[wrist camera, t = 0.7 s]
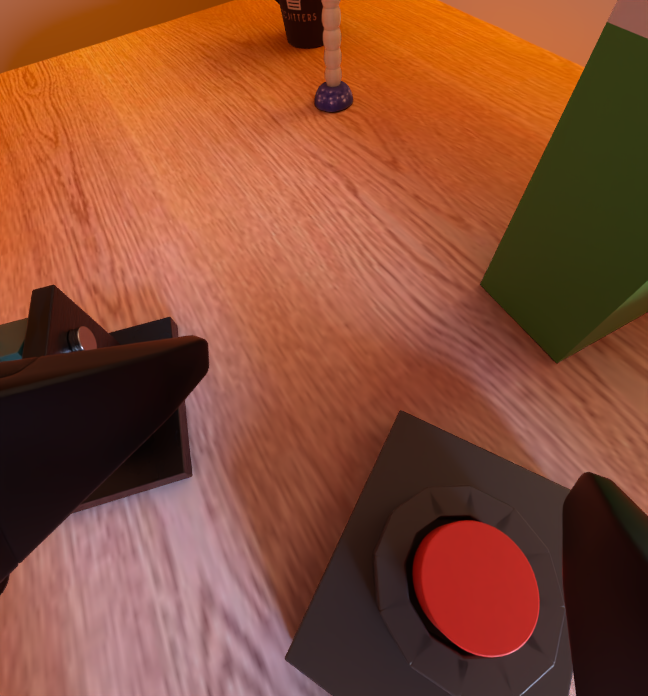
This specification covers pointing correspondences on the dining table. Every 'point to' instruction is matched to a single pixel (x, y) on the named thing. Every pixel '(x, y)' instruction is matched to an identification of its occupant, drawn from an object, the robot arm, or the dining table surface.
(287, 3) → the coffee mug
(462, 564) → the button
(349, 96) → the toy lamp
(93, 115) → the dining table surface
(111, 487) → the bracket
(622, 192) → the hardback book
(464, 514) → the button box
